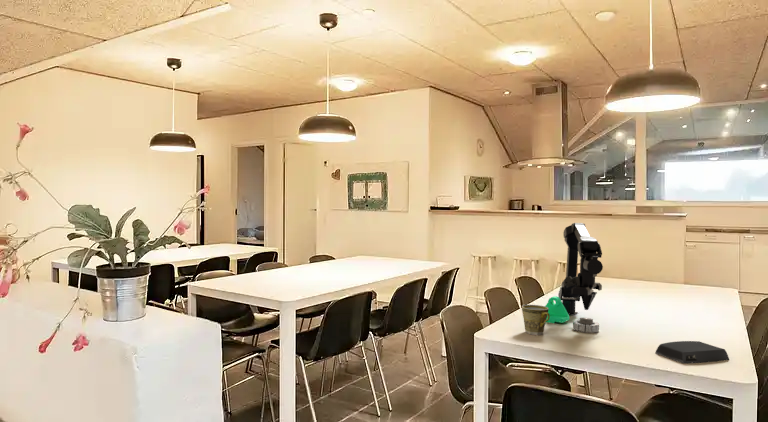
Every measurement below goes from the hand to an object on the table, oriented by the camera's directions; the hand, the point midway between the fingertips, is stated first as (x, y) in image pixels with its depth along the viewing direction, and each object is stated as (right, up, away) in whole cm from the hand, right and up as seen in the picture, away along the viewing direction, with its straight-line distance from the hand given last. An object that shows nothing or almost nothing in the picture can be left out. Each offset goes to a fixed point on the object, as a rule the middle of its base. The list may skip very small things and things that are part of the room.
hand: (586, 309), depth 208 cm
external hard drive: (+23, -10, -33) cm, 41 cm away
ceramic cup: (-22, -8, -8) cm, 25 cm away
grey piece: (0, -8, 0) cm, 8 cm away
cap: (0, -8, 0) cm, 8 cm away
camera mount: (-9, -8, +15) cm, 19 cm away
